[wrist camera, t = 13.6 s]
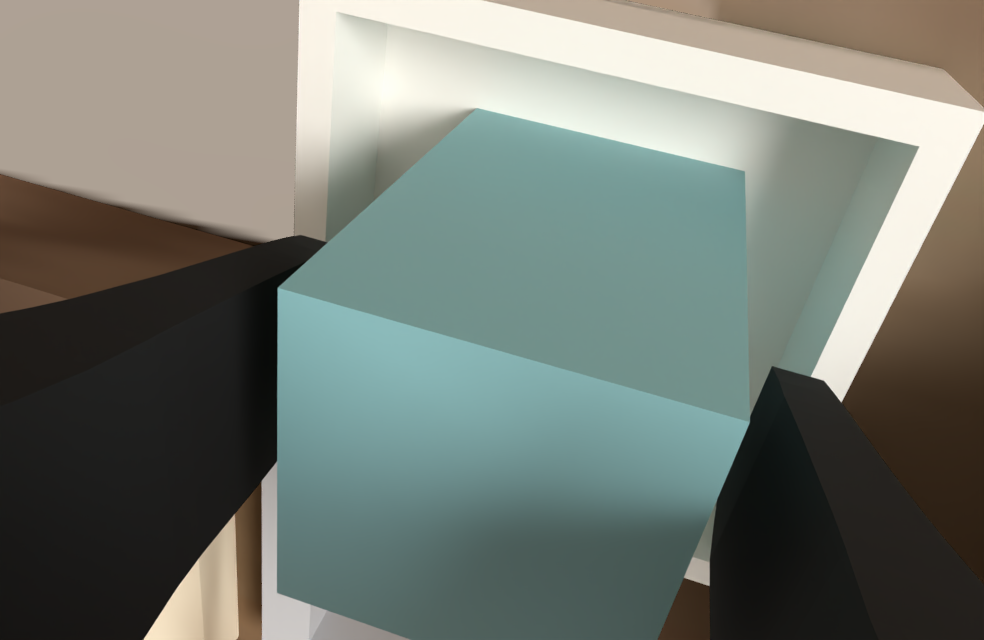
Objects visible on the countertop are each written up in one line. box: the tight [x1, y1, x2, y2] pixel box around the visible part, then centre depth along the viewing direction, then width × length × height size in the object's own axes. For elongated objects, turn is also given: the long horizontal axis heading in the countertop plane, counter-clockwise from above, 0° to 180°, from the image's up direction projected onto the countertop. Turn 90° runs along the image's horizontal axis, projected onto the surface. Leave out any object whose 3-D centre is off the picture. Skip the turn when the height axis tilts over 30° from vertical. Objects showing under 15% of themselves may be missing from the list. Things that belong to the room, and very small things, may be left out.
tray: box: [294, 0, 984, 586], centre depth 12 cm, size 8×8×2 cm
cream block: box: [144, 514, 239, 640], centre depth 19 cm, size 8×9×2 cm
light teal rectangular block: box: [277, 108, 750, 640], centre depth 10 cm, size 4×4×6 cm
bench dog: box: [0, 174, 253, 313], centre depth 15 cm, size 9×3×3 cm, turn 81°
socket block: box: [262, 462, 410, 640], centre depth 17 cm, size 7×7×1 cm
